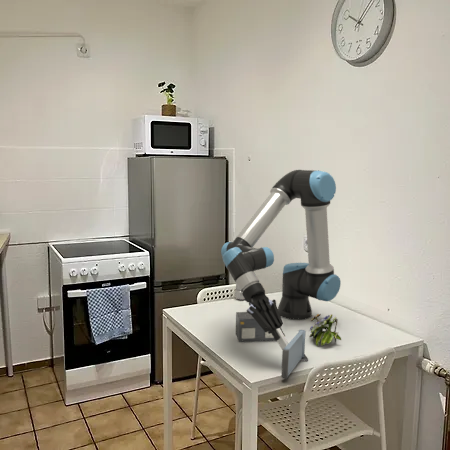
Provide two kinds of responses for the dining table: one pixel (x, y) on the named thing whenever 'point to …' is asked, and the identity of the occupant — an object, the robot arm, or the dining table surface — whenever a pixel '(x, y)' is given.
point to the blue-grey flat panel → (293, 353)
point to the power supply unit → (250, 329)
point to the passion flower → (328, 334)
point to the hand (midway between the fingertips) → (285, 347)
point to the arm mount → (304, 358)
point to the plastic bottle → (238, 294)
